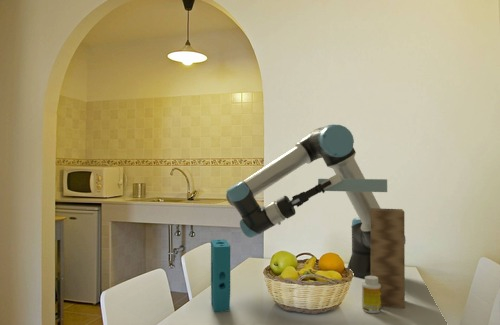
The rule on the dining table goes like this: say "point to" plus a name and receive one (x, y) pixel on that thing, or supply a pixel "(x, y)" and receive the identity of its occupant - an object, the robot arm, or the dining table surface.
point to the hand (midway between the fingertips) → (340, 176)
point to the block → (220, 275)
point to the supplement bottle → (371, 295)
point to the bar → (359, 185)
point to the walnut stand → (389, 255)
